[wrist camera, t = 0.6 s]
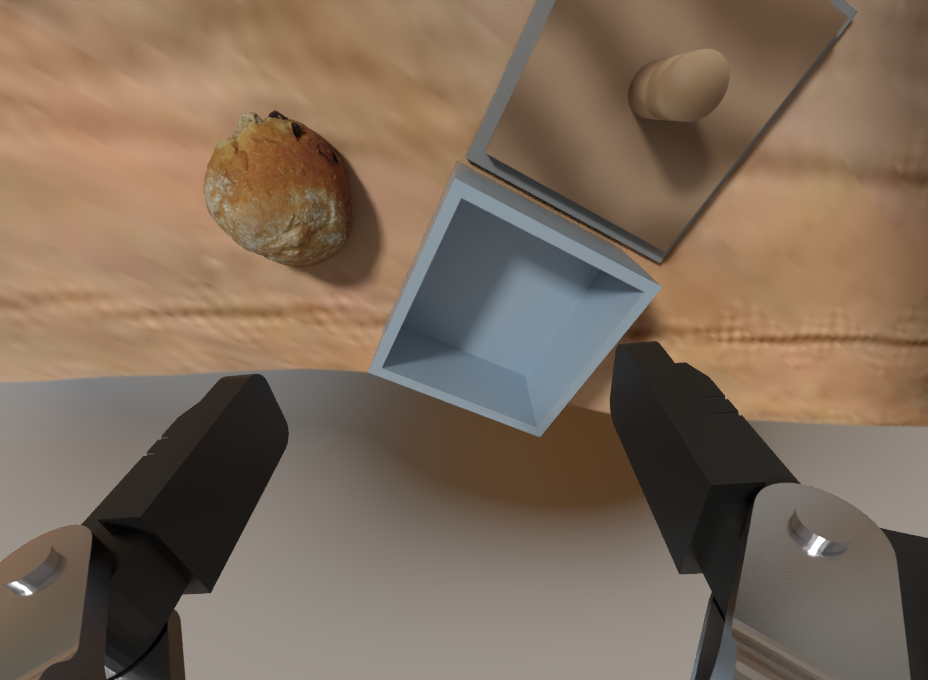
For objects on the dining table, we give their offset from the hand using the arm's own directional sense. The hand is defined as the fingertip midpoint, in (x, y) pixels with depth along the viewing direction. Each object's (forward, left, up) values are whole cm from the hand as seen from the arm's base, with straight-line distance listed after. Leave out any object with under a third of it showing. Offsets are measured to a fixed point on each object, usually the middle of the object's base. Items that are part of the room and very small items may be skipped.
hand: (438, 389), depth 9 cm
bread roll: (+6, -11, -25) cm, 28 cm away
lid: (-11, +9, -24) cm, 28 cm away
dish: (+6, +7, -24) cm, 26 cm away
